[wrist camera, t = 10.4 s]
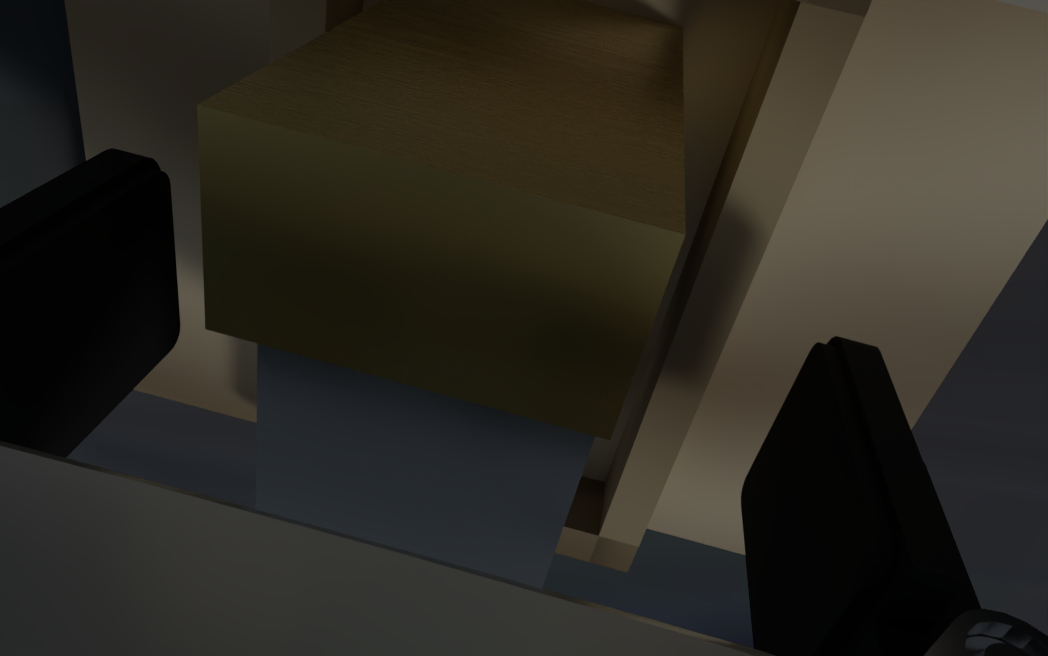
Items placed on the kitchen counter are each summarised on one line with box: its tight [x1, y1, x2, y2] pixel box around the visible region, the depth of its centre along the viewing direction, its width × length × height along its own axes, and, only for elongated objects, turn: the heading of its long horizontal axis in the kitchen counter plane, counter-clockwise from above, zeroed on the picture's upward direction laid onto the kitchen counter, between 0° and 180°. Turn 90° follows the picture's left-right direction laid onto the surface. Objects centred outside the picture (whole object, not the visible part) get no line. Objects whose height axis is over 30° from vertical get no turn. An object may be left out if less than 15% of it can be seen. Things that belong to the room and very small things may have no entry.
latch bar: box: [197, 0, 686, 588], centre depth 11 cm, size 8×4×7 cm, turn 168°
